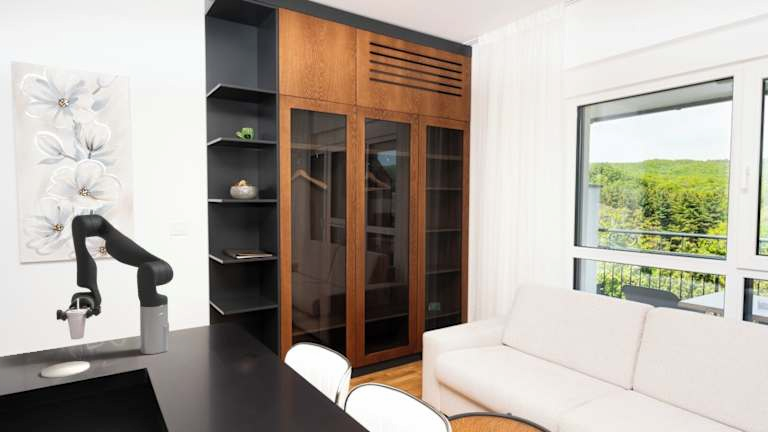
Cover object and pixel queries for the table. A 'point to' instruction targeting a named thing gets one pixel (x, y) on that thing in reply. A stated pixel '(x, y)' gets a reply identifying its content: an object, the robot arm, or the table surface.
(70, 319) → the smoothie
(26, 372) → the table surface
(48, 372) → the plate
